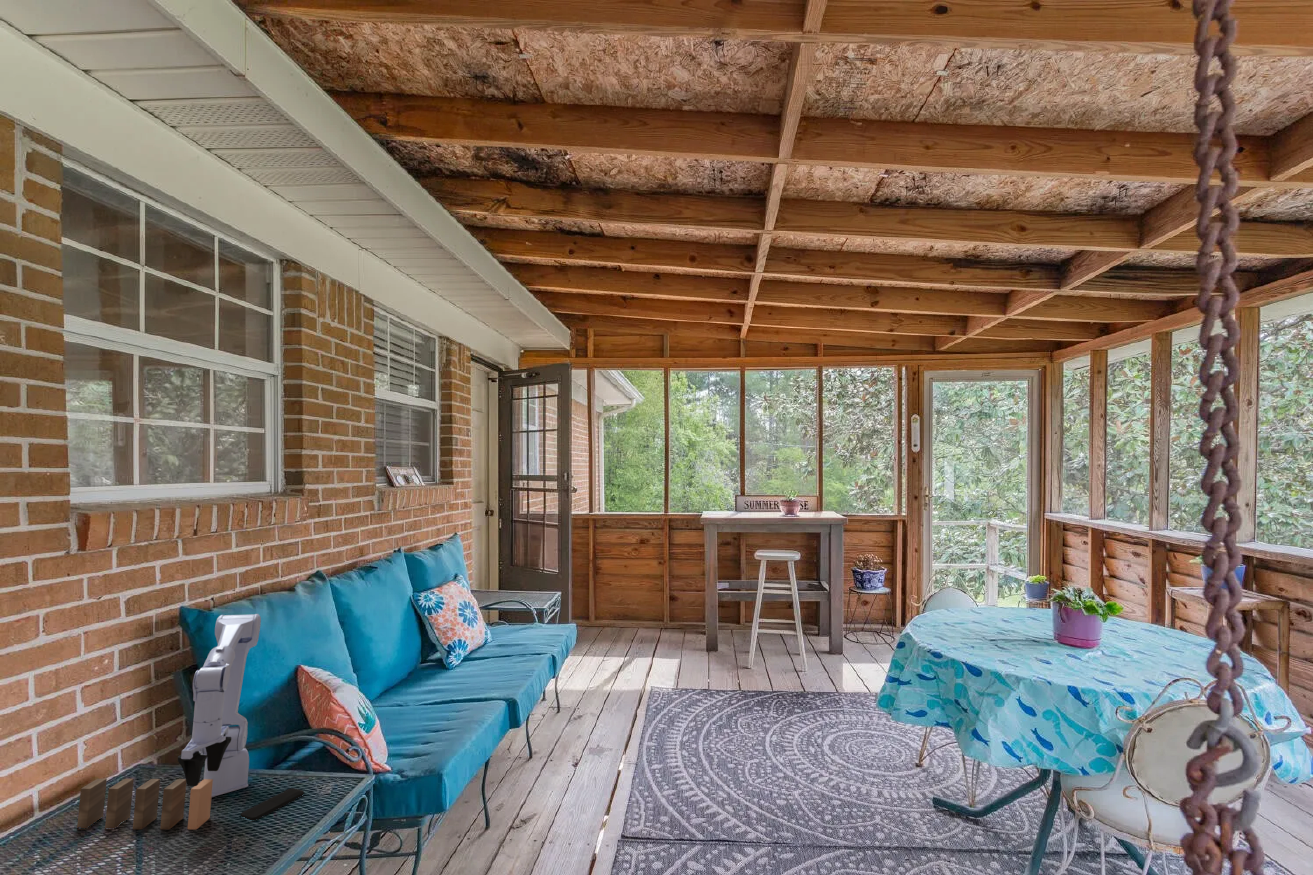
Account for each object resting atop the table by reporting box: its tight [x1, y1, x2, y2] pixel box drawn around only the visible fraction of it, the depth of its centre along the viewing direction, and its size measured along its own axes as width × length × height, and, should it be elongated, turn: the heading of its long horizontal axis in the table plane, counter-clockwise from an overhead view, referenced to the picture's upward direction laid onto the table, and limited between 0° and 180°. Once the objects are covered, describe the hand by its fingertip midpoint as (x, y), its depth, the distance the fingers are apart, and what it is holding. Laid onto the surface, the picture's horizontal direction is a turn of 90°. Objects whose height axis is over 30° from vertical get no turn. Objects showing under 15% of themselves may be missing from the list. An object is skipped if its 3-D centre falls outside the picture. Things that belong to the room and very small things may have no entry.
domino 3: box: [132, 778, 161, 830], centre depth 152 cm, size 2×5×9 cm, turn 4°
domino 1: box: [76, 778, 108, 829], centre depth 151 cm, size 2×5×9 cm, turn 4°
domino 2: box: [104, 778, 134, 830], centre depth 152 cm, size 2×5×9 cm, turn 4°
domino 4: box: [159, 778, 187, 830], centre depth 153 cm, size 2×5×9 cm, turn 5°
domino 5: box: [187, 778, 213, 830], centre depth 153 cm, size 2×5×9 cm, turn 5°
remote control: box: [240, 787, 305, 821], centre depth 162 cm, size 5×2×15 cm
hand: (203, 777), depth 153 cm, fingers open, 7 cm apart
